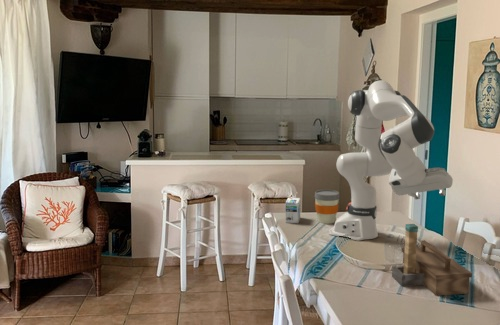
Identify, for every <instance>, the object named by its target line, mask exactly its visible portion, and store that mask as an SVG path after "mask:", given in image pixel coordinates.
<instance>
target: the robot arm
mask: <svg viewBox="0 0 500 325" xmlns="http://www.w3.org/2000/svg"><path fill="white" fill-rule="evenodd" d="M347 107H348V110H349V113H351V115H354V116H356V120H355V131H354V132H355V133H354V140H355V142H356V144H358V146H360V147H363V148H364V149H366V151H364V152H347V153H342V154H340V155H339V156H338V157H337V160H336V163H335V164H336V166H335V167H336V170H337V171H338V173H339V174H340V175H341V176H342V177H344V178H345V180H346V181H347V182H348V185H349V187H350V194H351V196H350V197H351V198H350V200H351V202H349V203H348V204H347V206H346V209H345V210H346V211H345V212H344V213H342V214H341V215H340V216H338V217H336V220H335V222H334V223H333V224H334V226H331V228H330V229H329V230H328V234H329V235H331V236H334V237H339V236H343V235H345V234H350V236H348V237H349V238H351V239H350V240H354V241H357V242H358V241H363V240H372V239H373V240H374V239H376V238H378V237H379V234H378V229H377V220H376V219H377V214H378V213H377V212H378V210H377V208H378V207H377V204H376V203H377V190H376V188H375V187H374V186H373V185H372V184H370V183H368V182H366V181H365V180H364V178H365V177H382V176H387V175H389V179H388V184H389V186H390V187H391V189H392V190H393V192H394V194H396V195H397V196H404V195H407V196H410V197H412V198H414V199H415V200H420V199H421V195H420V193H423V192H431V191H437V190H438V191H439V195H440V196H441V197H442V196H446V194H447V190H445V189H450V188H451V187H452V185H453V181H454V180H453V177H452V176H451V175H450V174H449V172H448V171H447V170H446V168H443V167H439V166H438V167H432V168H431V167H430V168H427V167H426V165H425V164H424V163H423V161H422V160H421V158H420V157H419V156H417V155H416V152H415V150H414V148H417V147H419V146H421V145H423V144H426V143H428V142H431V141H432V139H433V137H434V134H435V127H434V125H433V123H432V121H431V120H430V119H429V118H428V117H426V116H425V115H424V114H423V113H422V112H421V111H420V110H419V108H418V107H417V106H416V105H415V104H414V102H412V100H411V99H409V98H408V96H406V95H403V94H401V93H400V91H398V90H395V89H394V88H393V85H391V84H390V83H389V82H388V81H386V80H381V79H379V80H376V81H373V82H372V83H371V84H370V85H369V87H368V89H363V90H362V89H358V90H353V91H352V92H351V93H350V95H349V96H348V100H347ZM405 116H408V118H407V119H406V120H404V121H401V122H400V123H399V124H396V125H395V126H392V127H390V128H388V129H387V130H386V131H384V132H382V124H383V121H385V122H387V121H389V122H390V121H393V120H395V119H398V118H401V117H405Z"/></svg>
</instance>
